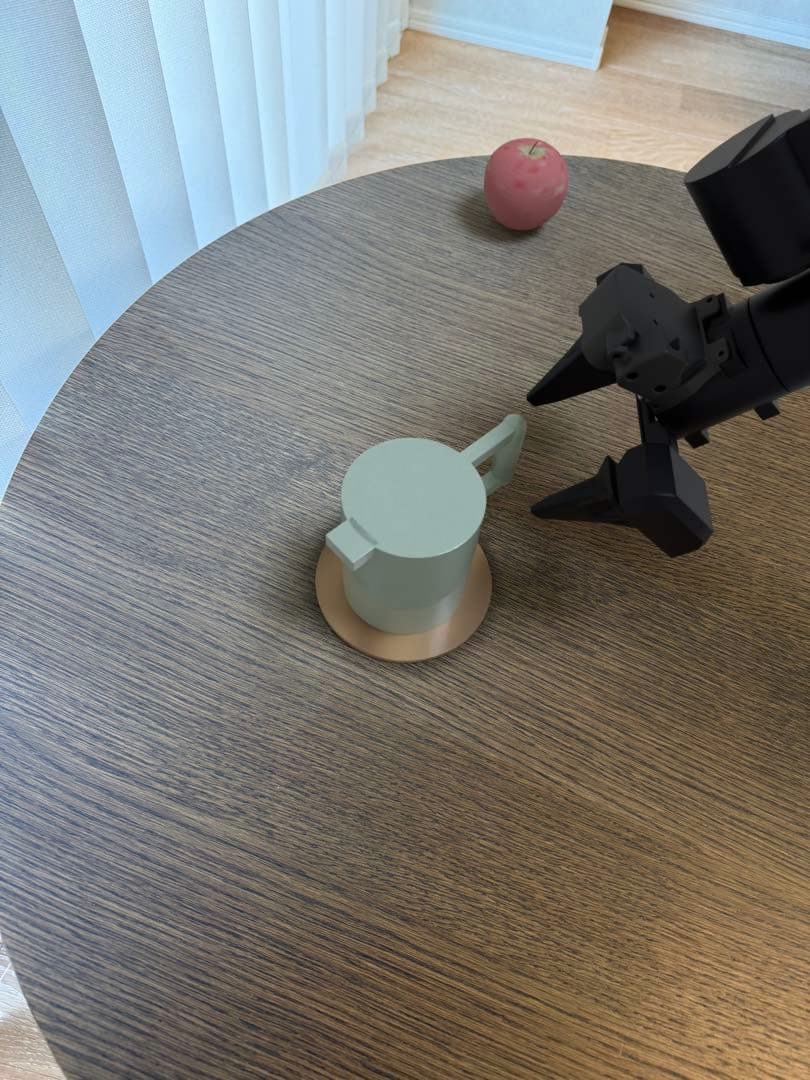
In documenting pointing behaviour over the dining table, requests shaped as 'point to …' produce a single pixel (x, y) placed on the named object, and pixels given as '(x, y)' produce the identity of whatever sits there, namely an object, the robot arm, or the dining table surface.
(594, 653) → the dining table surface
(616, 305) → the robot arm
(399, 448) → the jug
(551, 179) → the apple
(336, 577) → the coaster
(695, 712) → the dining table surface
